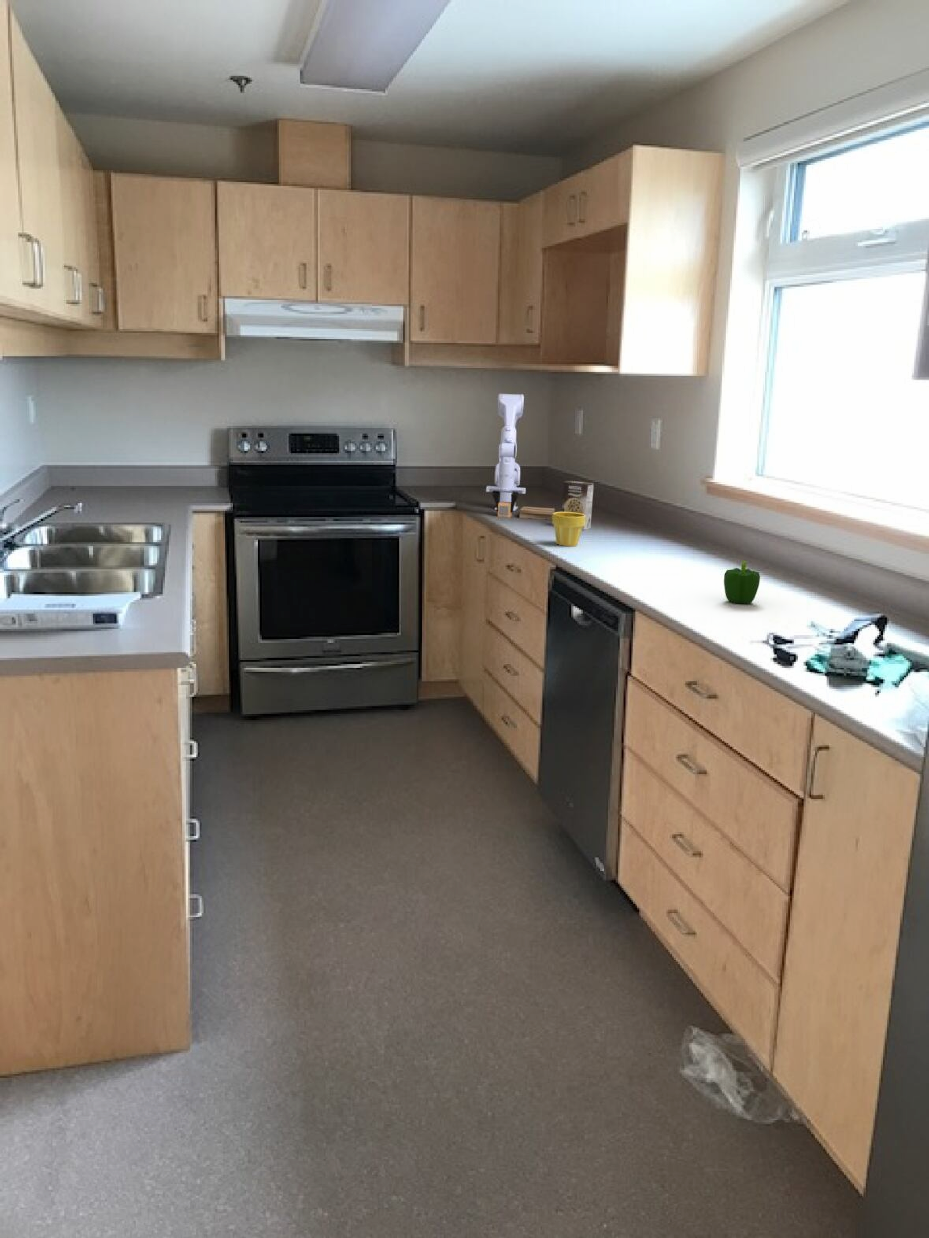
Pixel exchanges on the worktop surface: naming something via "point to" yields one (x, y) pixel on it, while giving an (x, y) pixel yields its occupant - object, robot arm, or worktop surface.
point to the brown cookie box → (578, 499)
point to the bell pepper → (741, 584)
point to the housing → (504, 509)
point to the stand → (537, 513)
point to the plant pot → (568, 527)
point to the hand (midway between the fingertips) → (504, 511)
